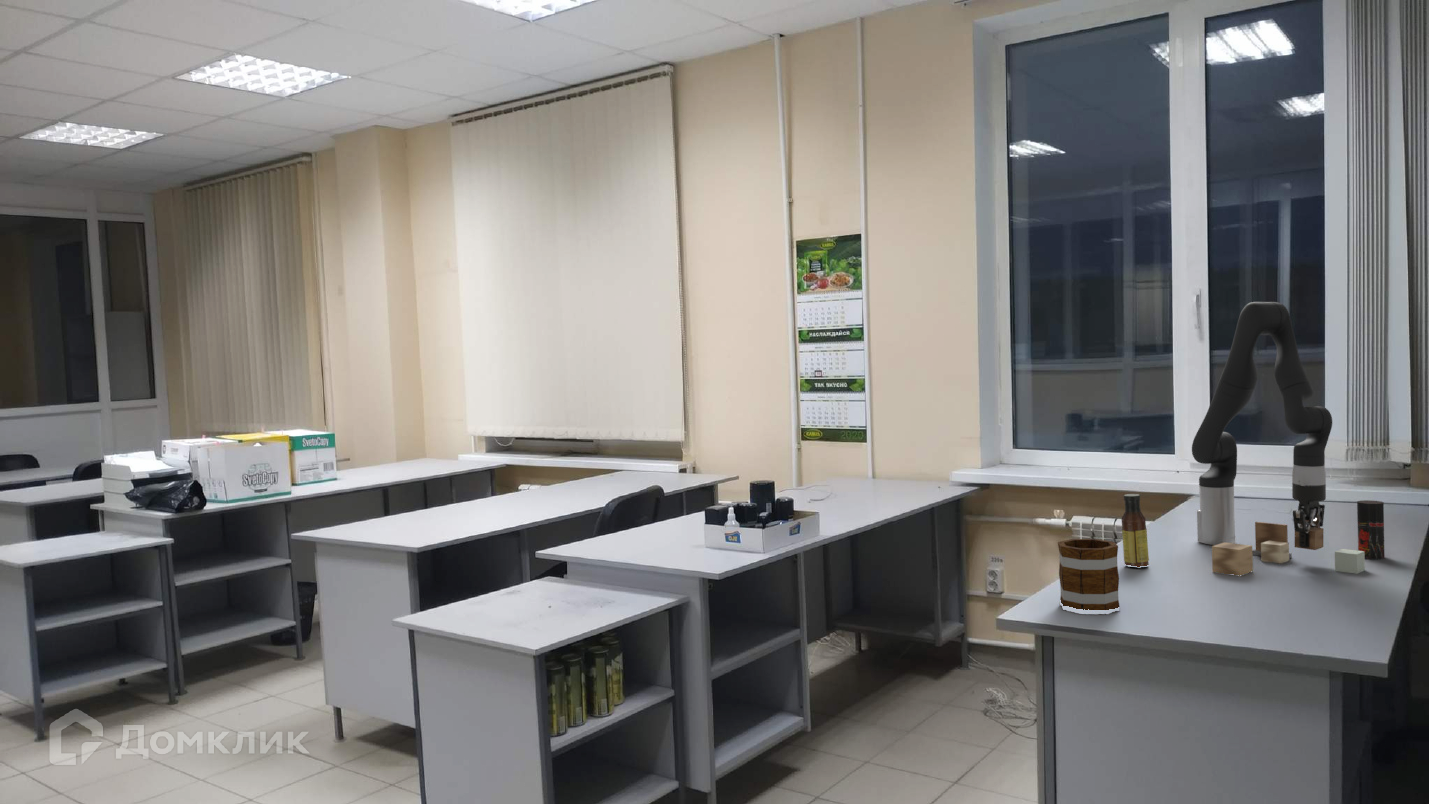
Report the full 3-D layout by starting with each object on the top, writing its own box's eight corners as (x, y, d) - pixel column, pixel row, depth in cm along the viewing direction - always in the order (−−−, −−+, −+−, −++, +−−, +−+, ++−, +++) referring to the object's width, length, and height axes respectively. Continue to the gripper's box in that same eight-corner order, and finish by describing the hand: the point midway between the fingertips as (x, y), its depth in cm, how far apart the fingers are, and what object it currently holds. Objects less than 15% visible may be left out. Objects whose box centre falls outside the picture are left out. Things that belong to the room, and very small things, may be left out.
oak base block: (1212, 572, 250) (1211, 546, 250) (1225, 568, 254) (1224, 542, 254) (1240, 576, 244) (1239, 549, 244) (1252, 572, 248) (1252, 545, 248)
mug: (1113, 618, 213) (1111, 551, 212) (1051, 611, 221) (1049, 547, 220) (1132, 597, 229) (1130, 536, 228) (1074, 592, 237) (1072, 532, 236)
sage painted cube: (1335, 571, 246) (1334, 551, 245) (1342, 567, 249) (1342, 548, 248) (1357, 573, 242) (1356, 554, 241) (1364, 570, 244) (1364, 551, 244)
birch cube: (1261, 561, 260) (1260, 543, 260) (1269, 558, 263) (1269, 540, 263) (1280, 563, 256) (1280, 545, 256) (1289, 560, 259) (1288, 542, 259)
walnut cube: (1294, 547, 253) (1294, 528, 253) (1302, 544, 256) (1302, 525, 256) (1315, 550, 249) (1315, 531, 249) (1323, 547, 252) (1323, 528, 252)
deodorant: (1388, 559, 255) (1387, 503, 254) (1364, 559, 256) (1363, 504, 256) (1378, 554, 261) (1377, 500, 260) (1354, 554, 262) (1353, 500, 261)
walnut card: (1252, 554, 268) (1251, 522, 267) (1257, 553, 269) (1256, 520, 269) (1286, 559, 260) (1286, 525, 260) (1291, 557, 262) (1290, 524, 262)
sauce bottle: (1149, 564, 262) (1147, 493, 261) (1148, 569, 256) (1146, 496, 255) (1123, 563, 264) (1121, 492, 263) (1122, 568, 259) (1120, 496, 258)
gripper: (1305, 477, 259) (1305, 539, 260) (1281, 483, 250) (1281, 547, 251) (1336, 480, 253) (1336, 543, 254) (1312, 486, 244) (1312, 552, 245)
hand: (1308, 545), depth 252 cm, fingers closed on walnut cube, 5 cm apart
